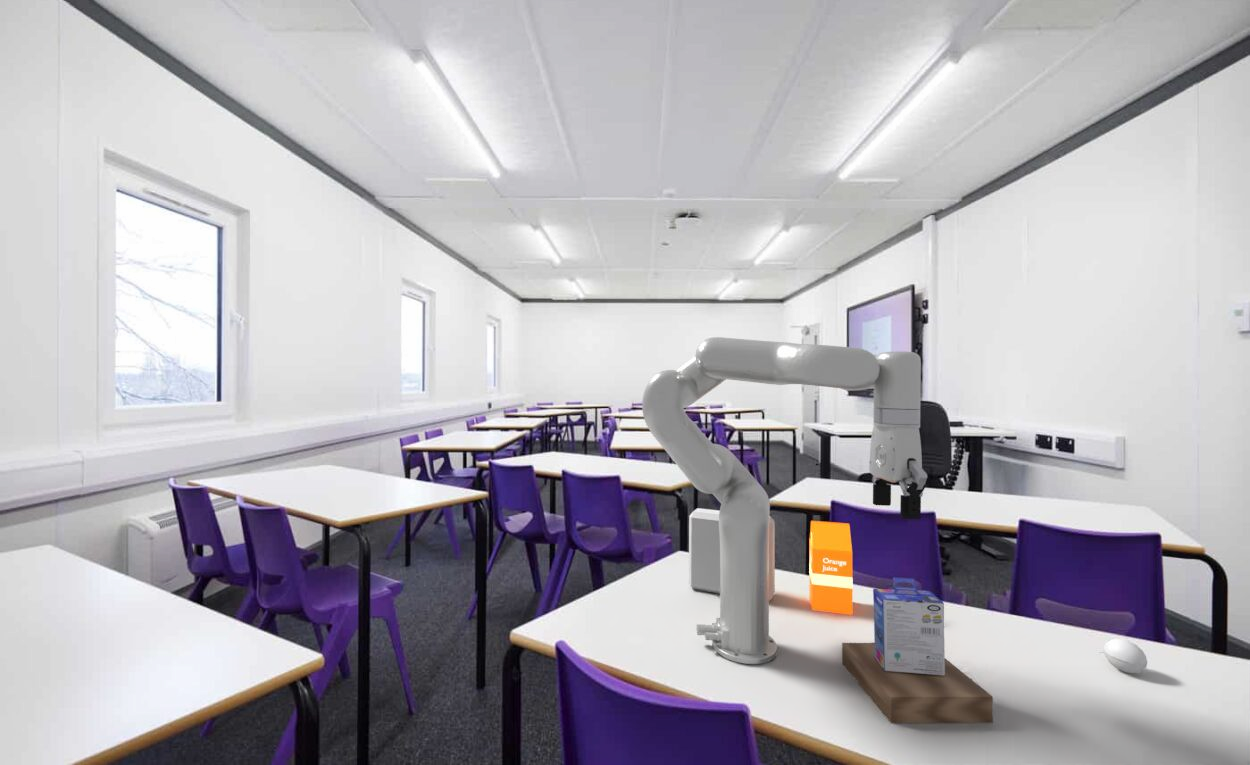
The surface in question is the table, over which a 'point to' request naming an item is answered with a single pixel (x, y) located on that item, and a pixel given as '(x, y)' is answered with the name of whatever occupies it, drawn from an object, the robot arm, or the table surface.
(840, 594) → the orange juice
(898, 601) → the ink cartridge box
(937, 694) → the walnut plinth
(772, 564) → the bevelled white case
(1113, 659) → the white egg-shaped piece
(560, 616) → the table surface
